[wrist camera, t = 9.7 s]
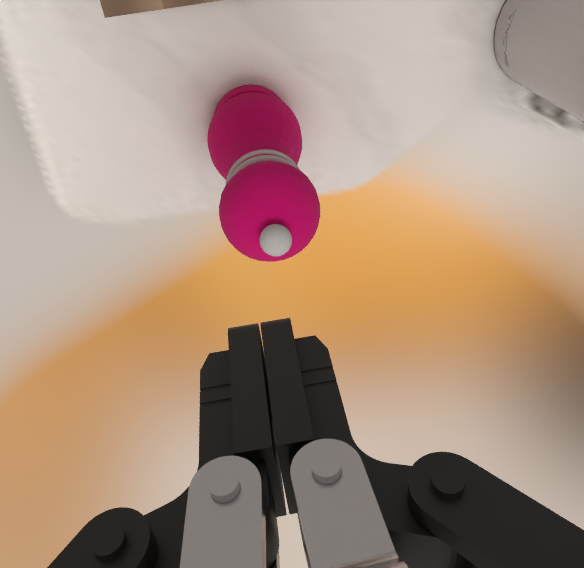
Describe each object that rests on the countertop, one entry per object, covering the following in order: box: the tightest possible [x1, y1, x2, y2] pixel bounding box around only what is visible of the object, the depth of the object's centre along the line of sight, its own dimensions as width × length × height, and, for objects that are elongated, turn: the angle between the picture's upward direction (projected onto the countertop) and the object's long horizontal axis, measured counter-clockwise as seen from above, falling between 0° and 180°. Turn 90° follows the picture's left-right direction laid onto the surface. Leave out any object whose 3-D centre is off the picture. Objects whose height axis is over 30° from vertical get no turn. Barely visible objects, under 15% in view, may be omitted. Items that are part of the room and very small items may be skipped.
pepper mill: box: [208, 85, 320, 261], centre depth 36 cm, size 7×7×20 cm
